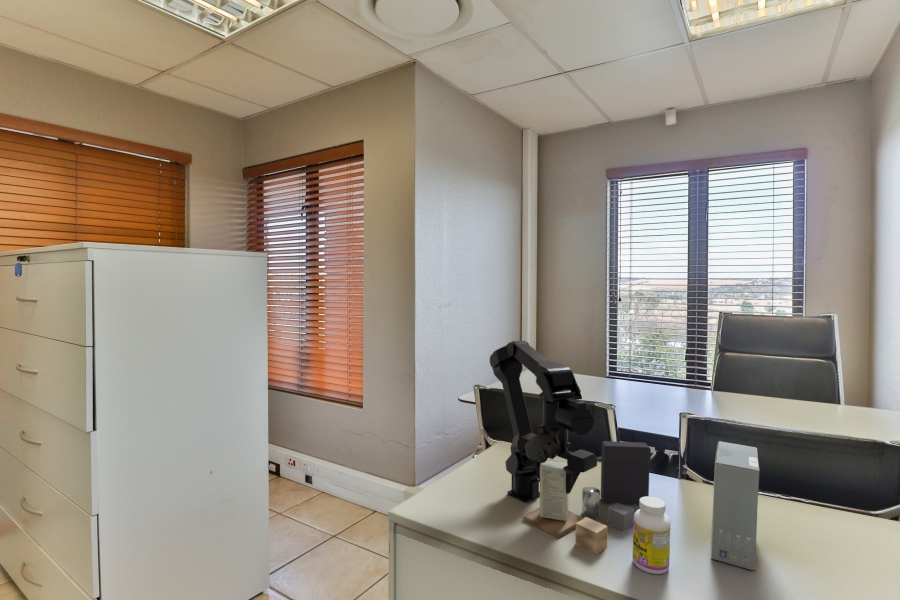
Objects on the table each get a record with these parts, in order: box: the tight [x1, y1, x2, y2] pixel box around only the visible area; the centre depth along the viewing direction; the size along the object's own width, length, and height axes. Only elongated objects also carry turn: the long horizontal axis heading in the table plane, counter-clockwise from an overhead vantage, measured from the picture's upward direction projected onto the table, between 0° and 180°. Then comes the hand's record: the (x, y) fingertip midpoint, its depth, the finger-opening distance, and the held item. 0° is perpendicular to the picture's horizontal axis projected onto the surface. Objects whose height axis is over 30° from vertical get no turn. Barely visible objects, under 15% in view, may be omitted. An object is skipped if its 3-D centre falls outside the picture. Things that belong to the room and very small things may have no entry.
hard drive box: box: [710, 440, 760, 571], centre depth 98 cm, size 16×8×20 cm, turn 148°
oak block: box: [575, 517, 608, 555], centre depth 99 cm, size 5×4×4 cm
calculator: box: [600, 440, 652, 506], centre depth 117 cm, size 11×4×15 cm, turn 84°
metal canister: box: [581, 486, 601, 520], centre depth 111 cm, size 4×4×6 cm
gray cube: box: [607, 503, 634, 533], centre depth 106 cm, size 4×4×4 cm
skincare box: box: [539, 459, 569, 521], centre depth 108 cm, size 6×4×12 cm
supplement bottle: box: [632, 495, 671, 575], centre depth 92 cm, size 7×7×13 cm
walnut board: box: [522, 506, 585, 539], centre depth 108 cm, size 10×10×1 cm
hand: (554, 487), depth 108 cm, fingers closed on skincare box, 7 cm apart
